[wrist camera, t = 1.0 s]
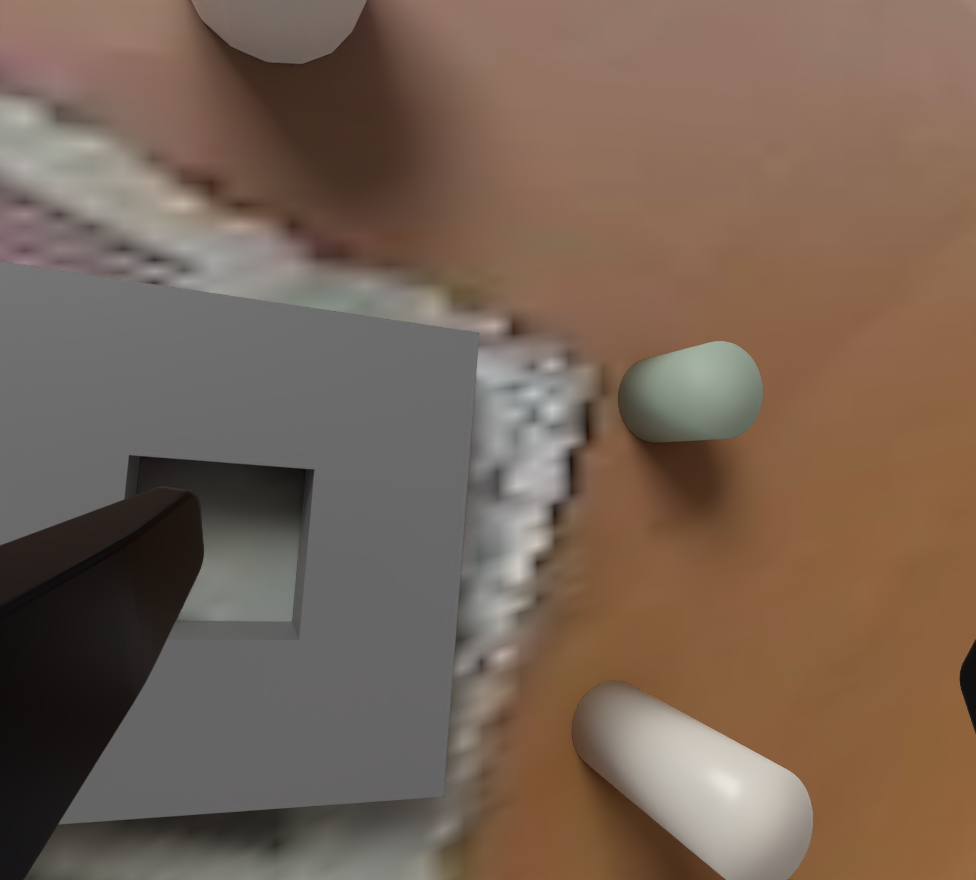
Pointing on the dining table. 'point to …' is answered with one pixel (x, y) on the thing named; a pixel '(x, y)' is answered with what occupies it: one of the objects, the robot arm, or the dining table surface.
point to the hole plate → (323, 536)
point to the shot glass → (282, 26)
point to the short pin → (692, 394)
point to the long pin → (696, 783)
